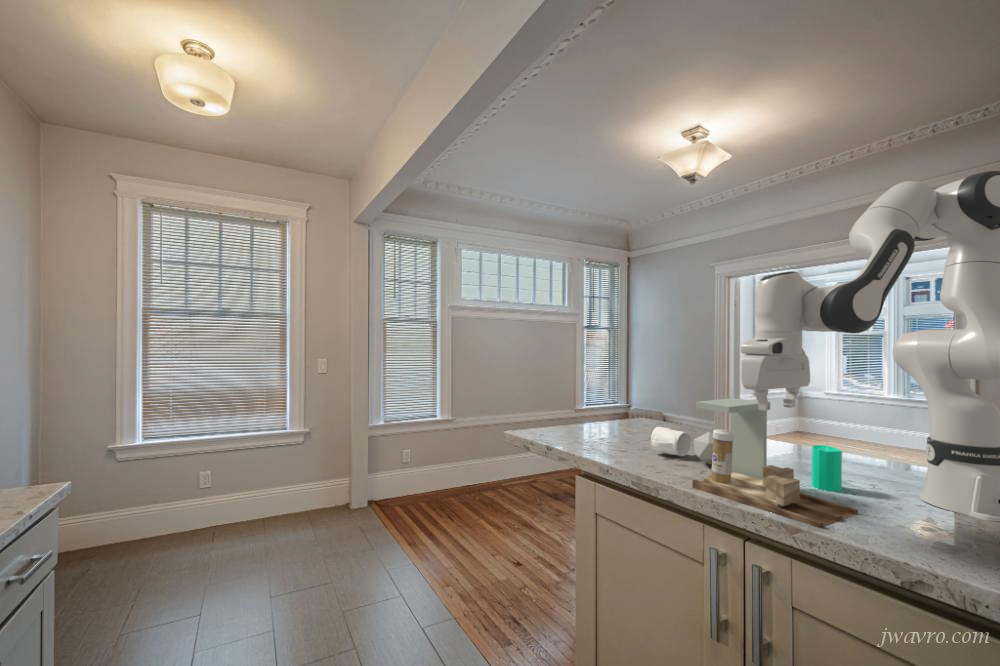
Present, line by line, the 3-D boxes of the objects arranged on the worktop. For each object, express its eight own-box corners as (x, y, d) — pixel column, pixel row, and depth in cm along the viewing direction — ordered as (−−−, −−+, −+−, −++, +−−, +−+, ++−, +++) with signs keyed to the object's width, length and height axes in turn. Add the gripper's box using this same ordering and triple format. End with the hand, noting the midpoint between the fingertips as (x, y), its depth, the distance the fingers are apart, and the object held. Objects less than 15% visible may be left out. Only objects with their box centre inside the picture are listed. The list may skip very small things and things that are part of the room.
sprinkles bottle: (706, 483, 111) (709, 429, 111) (719, 481, 113) (722, 428, 113) (722, 489, 107) (724, 434, 107) (735, 487, 109) (738, 432, 109)
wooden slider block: (793, 493, 105) (793, 469, 105) (778, 497, 102) (778, 472, 102) (734, 475, 118) (735, 454, 118) (720, 479, 115) (720, 457, 115)
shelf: (766, 488, 113) (766, 402, 113) (728, 498, 105) (728, 406, 105) (732, 477, 121) (733, 398, 121) (695, 486, 113) (695, 401, 113)
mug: (664, 448, 152) (665, 424, 152) (691, 454, 144) (691, 429, 144) (644, 454, 144) (645, 429, 144) (671, 460, 137) (672, 434, 137)
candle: (811, 484, 116) (812, 438, 116) (840, 489, 112) (841, 441, 112) (811, 491, 111) (811, 442, 111) (842, 496, 107) (842, 446, 107)
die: (730, 470, 127) (730, 435, 127) (696, 468, 129) (696, 433, 129) (721, 462, 136) (721, 429, 136) (690, 460, 137) (690, 427, 138)
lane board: (857, 518, 95) (857, 509, 95) (819, 532, 87) (819, 523, 87) (730, 478, 120) (730, 471, 120) (692, 487, 113) (692, 480, 113)
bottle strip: (799, 506, 97) (799, 480, 97) (783, 511, 94) (783, 484, 94) (717, 480, 114) (717, 457, 114) (701, 483, 111) (702, 460, 111)
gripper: (789, 345, 106) (788, 403, 106) (735, 345, 96) (734, 409, 96) (819, 346, 101) (818, 407, 101) (765, 346, 91) (764, 414, 91)
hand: (777, 408), depth 98 cm, fingers open, 8 cm apart
